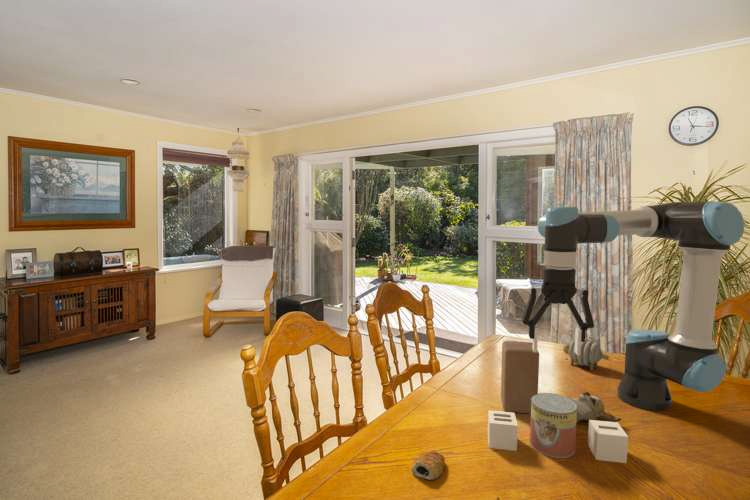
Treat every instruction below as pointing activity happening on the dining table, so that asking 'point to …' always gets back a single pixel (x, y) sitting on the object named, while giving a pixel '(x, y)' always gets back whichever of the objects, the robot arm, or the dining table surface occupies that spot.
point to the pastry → (428, 465)
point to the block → (519, 376)
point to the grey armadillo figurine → (585, 353)
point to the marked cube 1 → (502, 430)
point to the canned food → (553, 425)
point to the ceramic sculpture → (592, 409)
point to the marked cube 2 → (607, 441)
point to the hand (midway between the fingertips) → (555, 352)
